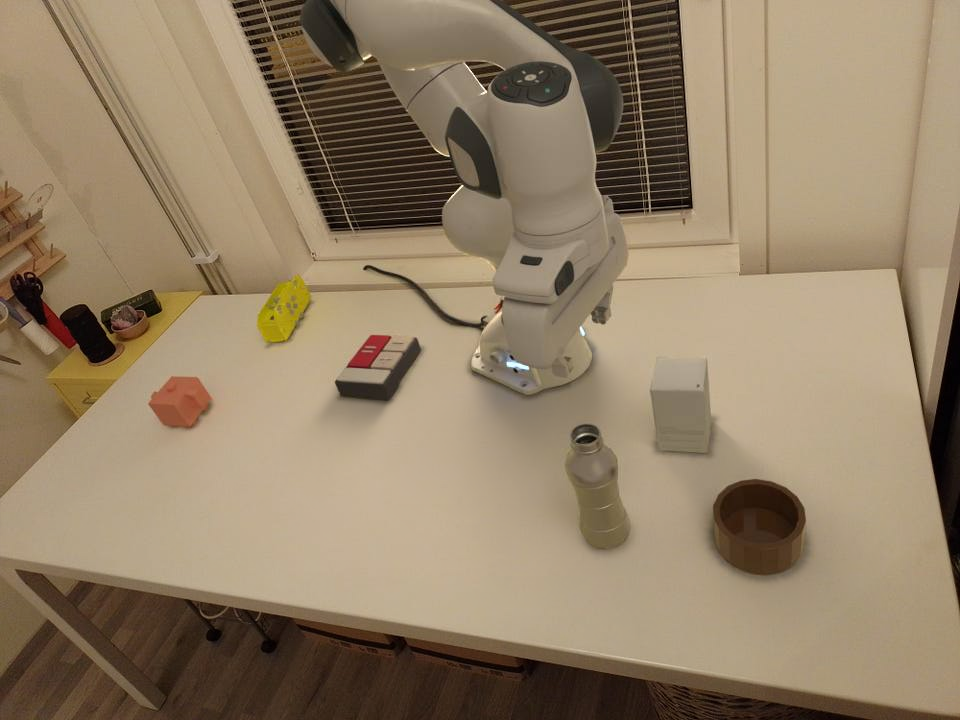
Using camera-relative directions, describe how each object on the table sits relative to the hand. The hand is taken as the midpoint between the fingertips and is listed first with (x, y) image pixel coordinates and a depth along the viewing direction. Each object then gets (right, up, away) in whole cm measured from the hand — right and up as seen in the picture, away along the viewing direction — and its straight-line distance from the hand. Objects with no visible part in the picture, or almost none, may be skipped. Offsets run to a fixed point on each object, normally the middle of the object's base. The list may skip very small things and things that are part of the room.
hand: (583, 345), depth 78 cm
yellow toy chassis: (-54, +7, +82) cm, 98 cm away
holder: (+24, -25, +13) cm, 37 cm away
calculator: (-30, -4, +59) cm, 67 cm away
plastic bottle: (+6, -26, +19) cm, 32 cm away
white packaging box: (+20, -13, +29) cm, 37 cm away
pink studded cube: (-70, -13, +64) cm, 96 cm away
